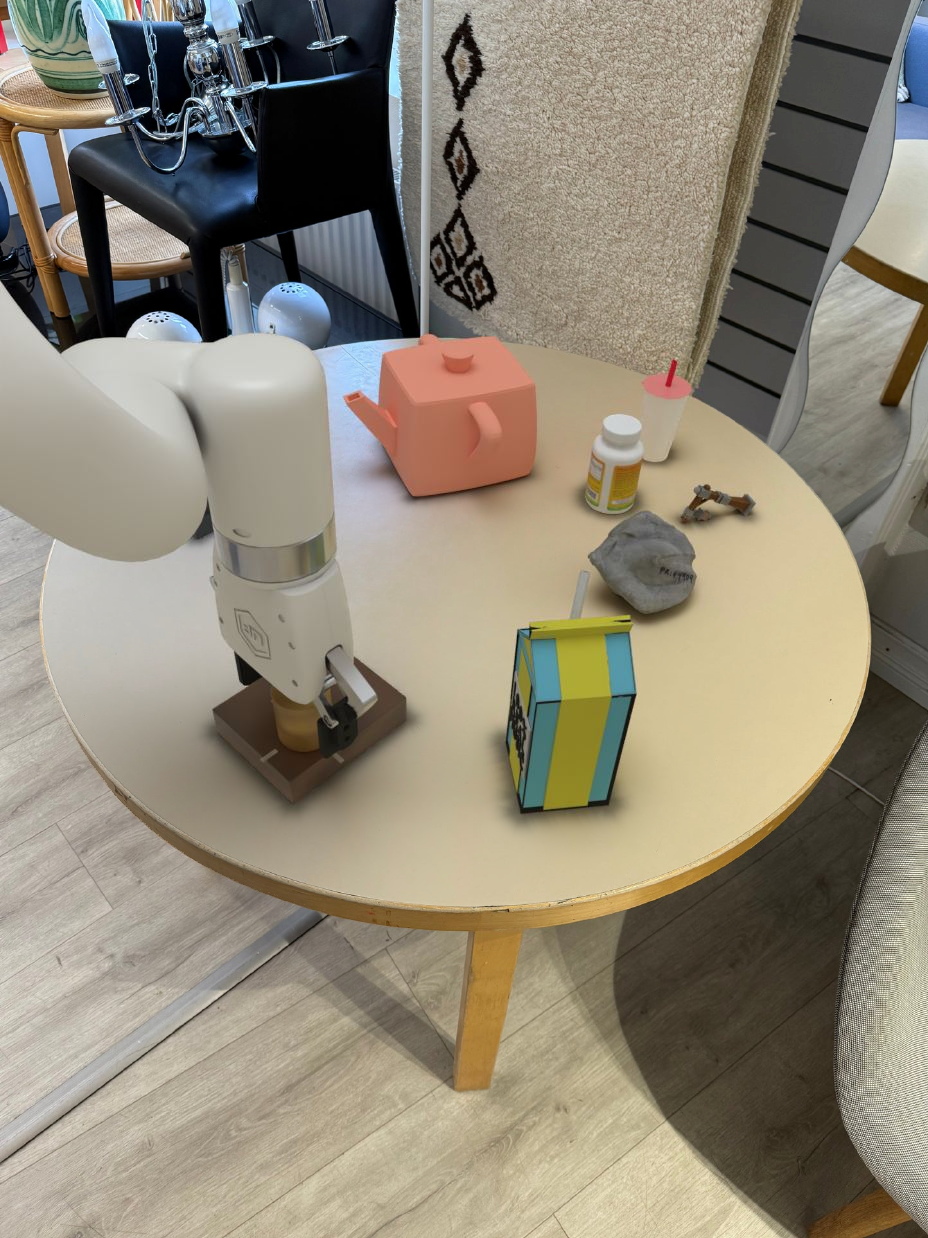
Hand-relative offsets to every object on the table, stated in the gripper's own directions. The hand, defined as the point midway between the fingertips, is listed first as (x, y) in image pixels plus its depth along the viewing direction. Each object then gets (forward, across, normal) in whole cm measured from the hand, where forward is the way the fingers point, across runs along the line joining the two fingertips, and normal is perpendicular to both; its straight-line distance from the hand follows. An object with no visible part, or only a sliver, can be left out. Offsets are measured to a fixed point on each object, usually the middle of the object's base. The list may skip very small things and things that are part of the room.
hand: (297, 709), depth 69 cm
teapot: (+6, -22, +36) cm, 43 cm away
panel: (+6, -2, +2) cm, 6 cm away
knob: (+3, 0, 0) cm, 3 cm away
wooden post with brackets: (+5, +6, +52) cm, 52 cm away
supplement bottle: (+5, -4, +46) cm, 46 cm away
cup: (+5, -6, +56) cm, 57 cm away
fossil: (+5, +7, +36) cm, 37 cm away
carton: (+6, +15, +14) cm, 21 cm away
